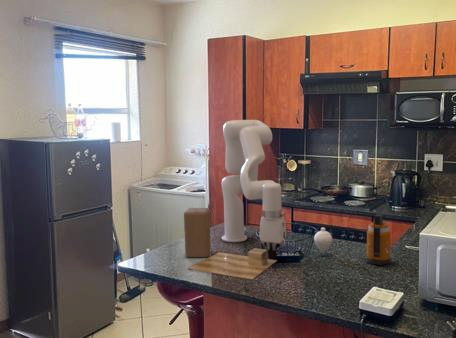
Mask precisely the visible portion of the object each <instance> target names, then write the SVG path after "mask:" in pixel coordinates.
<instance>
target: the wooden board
mask: <svg viewBox="0 0 456 338" xmlns="http://www.w3.org/2000/svg"><path fill="white" fill-rule="evenodd" d="M276 262H278V260H277V259H274V260H272V259H271V260H270V259H269V258H268V262H266V263H265V264H264V265H262V266H259V265H252V264H248V255H241V254H234V253H229V252H228V253H227V252H221V251H219V252H217V253H215V254H213V255H211V256H210V257H209V256H208V257H207V258H206V259H204V260H202V261H200V262H198V263H197V264H195V265H193V266H191V267H189V268H188V270H193V271H200V272H205V273H210V274H216V275H222V276H227V277H233V278H234V277H235V278H241V279H247V280H254V279H255V278H256V277H258V276H259V275H260V274H261V273H263V272H264V271H265V270H267V269H268V268H270V267H271V266H272V265H273V264H274V263H276Z"/></svg>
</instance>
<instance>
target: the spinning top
mask: <svg viewBox="0 0 456 338" xmlns="http://www.w3.org/2000/svg"><path fill="white" fill-rule="evenodd" d="M313 241H314V244H315V246H316V247H317V249H318V250H319V251H320V252H321V253H322V256H324V254H325V253H326V252H327V250H329V248H330V246H331V244H332V242H333V235H332V234H331V233H330V232H329V231H327V230H326V228H325V227H320V230H318V231H317V232H316V233H315V235H314V237H313Z"/></svg>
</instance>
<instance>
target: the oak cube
mask: <svg viewBox="0 0 456 338" xmlns="http://www.w3.org/2000/svg"><path fill="white" fill-rule="evenodd" d="M247 256H248V264H252V265H259V266H262V265H264V264H265V263H266V262H268V259H269V258H268V257H269V252H268V249H265V248H257V247H254V248H252V249H251V250H249V251H247Z"/></svg>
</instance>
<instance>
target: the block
mask: <svg viewBox="0 0 456 338" xmlns="http://www.w3.org/2000/svg"><path fill="white" fill-rule="evenodd" d="M183 227H184V255H185V257H186V258H209V255H210V253H211V250H212V236H211V234H212V233H211V209H210V208H209V207H189V208H187V209H186V210H185V211H184V212H183Z"/></svg>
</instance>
